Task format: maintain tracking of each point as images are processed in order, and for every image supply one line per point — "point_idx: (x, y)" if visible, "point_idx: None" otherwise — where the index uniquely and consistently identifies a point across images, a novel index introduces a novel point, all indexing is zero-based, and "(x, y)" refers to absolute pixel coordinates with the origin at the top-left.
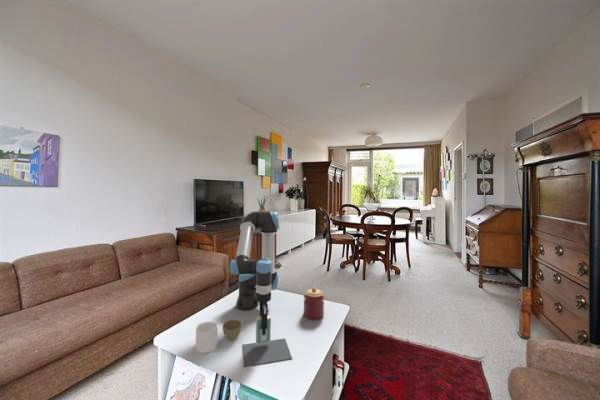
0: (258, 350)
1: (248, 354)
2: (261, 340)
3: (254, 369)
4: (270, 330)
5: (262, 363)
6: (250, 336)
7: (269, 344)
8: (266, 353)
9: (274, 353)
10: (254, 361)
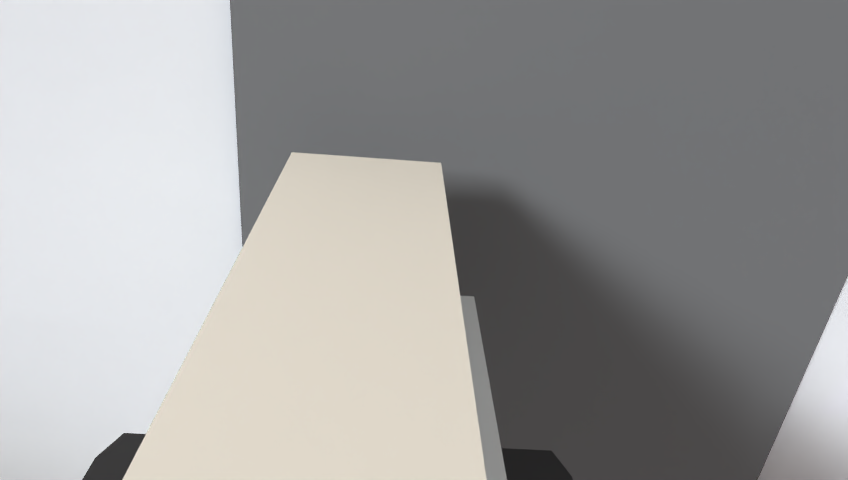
0: (485, 347)
1: None
2: None
3: (840, 433)
4: (463, 326)
5: (818, 339)
6: (17, 396)
7: (375, 136)
8: (622, 243)
9: (701, 105)
10: (714, 428)
